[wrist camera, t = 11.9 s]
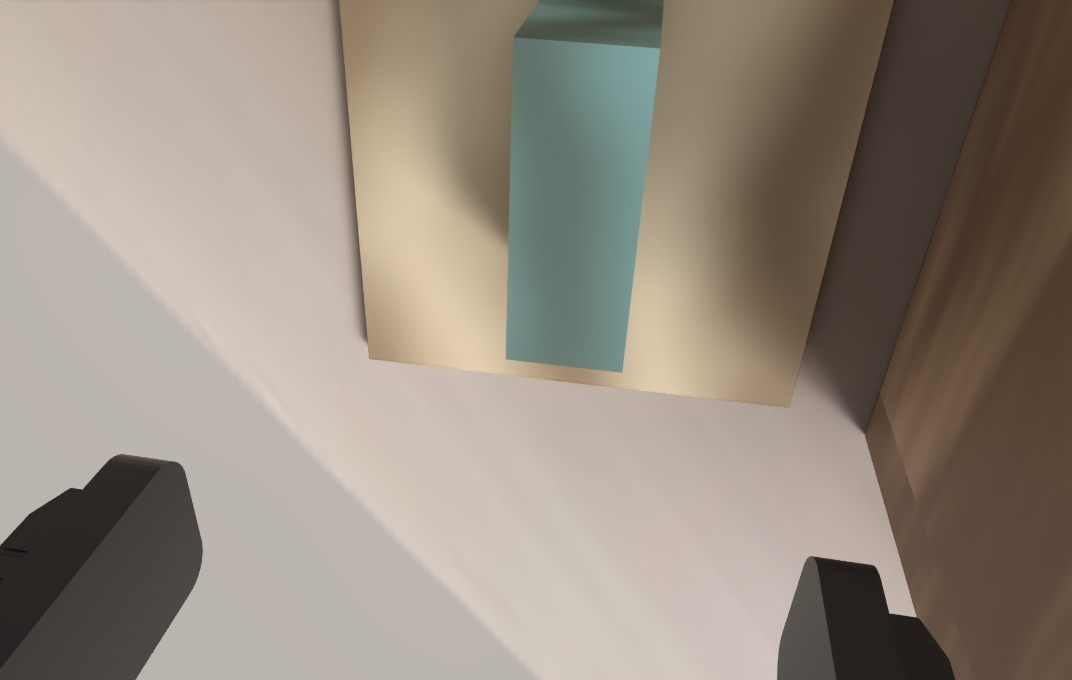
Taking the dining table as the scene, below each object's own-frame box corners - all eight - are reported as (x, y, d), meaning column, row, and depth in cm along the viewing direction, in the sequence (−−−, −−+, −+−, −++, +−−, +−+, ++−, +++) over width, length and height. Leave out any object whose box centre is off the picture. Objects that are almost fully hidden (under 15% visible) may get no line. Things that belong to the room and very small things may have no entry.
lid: (927, -183, 19) (1017, -177, 14) (785, 386, 28) (808, 518, 23) (338, -212, 21) (224, -216, 15) (379, 340, 29) (316, 454, 24)
